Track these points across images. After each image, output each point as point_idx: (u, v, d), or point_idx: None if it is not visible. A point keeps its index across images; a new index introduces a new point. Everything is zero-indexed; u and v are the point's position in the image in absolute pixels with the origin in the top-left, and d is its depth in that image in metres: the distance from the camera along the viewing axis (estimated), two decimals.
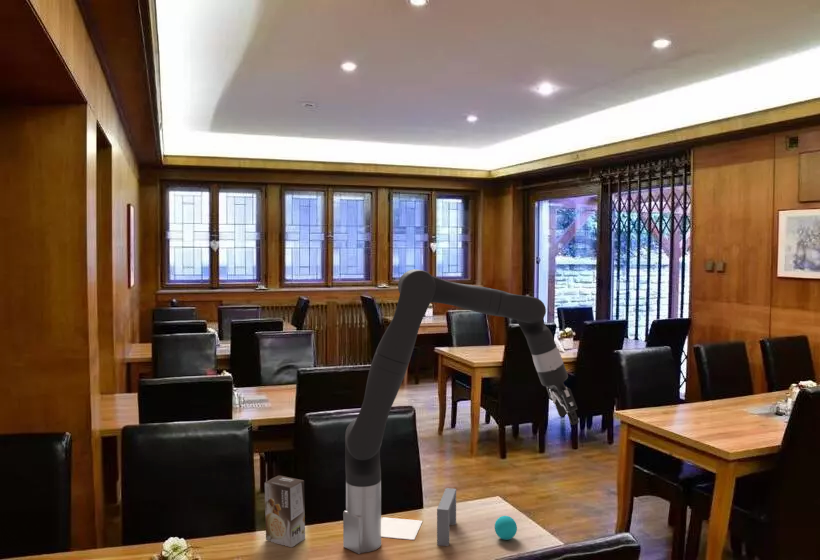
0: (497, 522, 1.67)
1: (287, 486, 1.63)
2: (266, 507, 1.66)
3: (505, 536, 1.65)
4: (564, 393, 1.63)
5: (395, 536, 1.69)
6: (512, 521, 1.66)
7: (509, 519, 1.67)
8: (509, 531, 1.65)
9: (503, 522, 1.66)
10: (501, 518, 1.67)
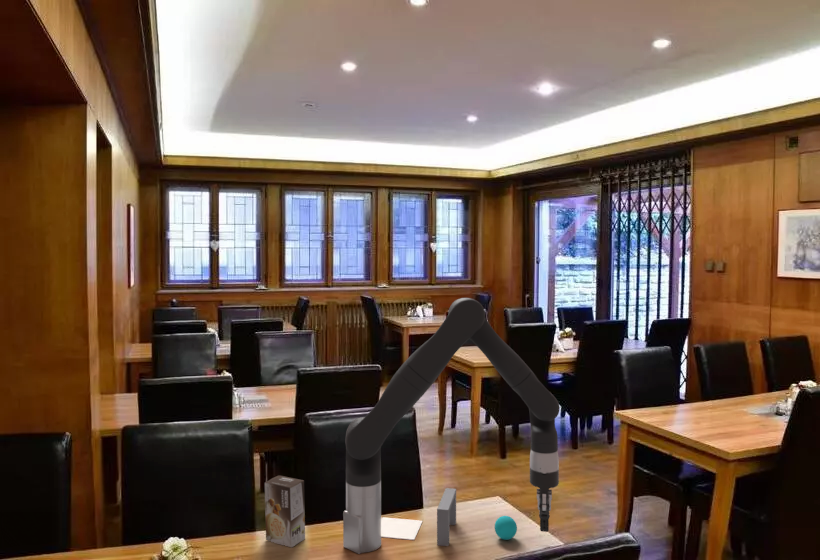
0: (497, 522, 1.67)
1: (287, 486, 1.63)
2: (266, 507, 1.66)
3: (505, 536, 1.65)
4: (541, 508, 1.59)
5: (395, 536, 1.69)
6: (512, 521, 1.66)
7: (509, 519, 1.67)
8: (509, 531, 1.65)
9: (503, 522, 1.66)
10: (501, 518, 1.67)
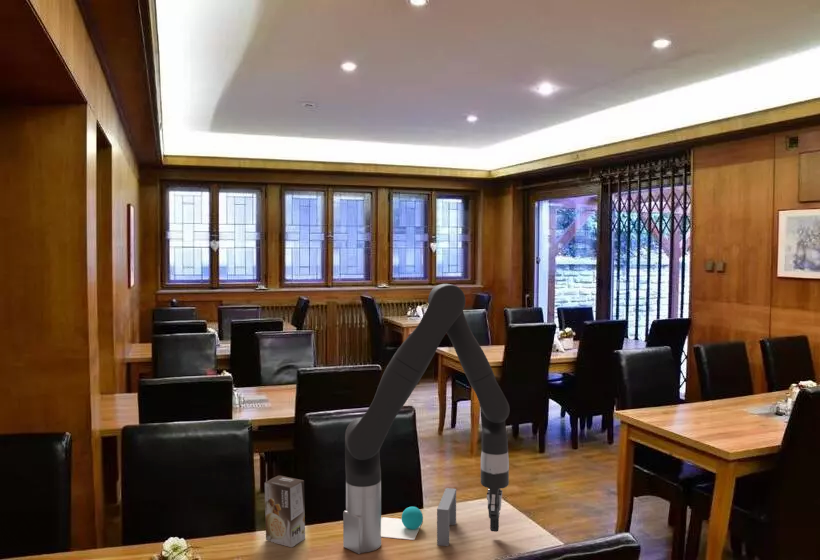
0: (409, 528, 1.73)
1: (287, 486, 1.63)
2: (266, 507, 1.66)
3: (412, 519, 1.71)
4: (490, 508, 1.62)
5: (395, 536, 1.69)
6: None
7: None
8: (407, 517, 1.72)
9: (404, 525, 1.73)
10: None
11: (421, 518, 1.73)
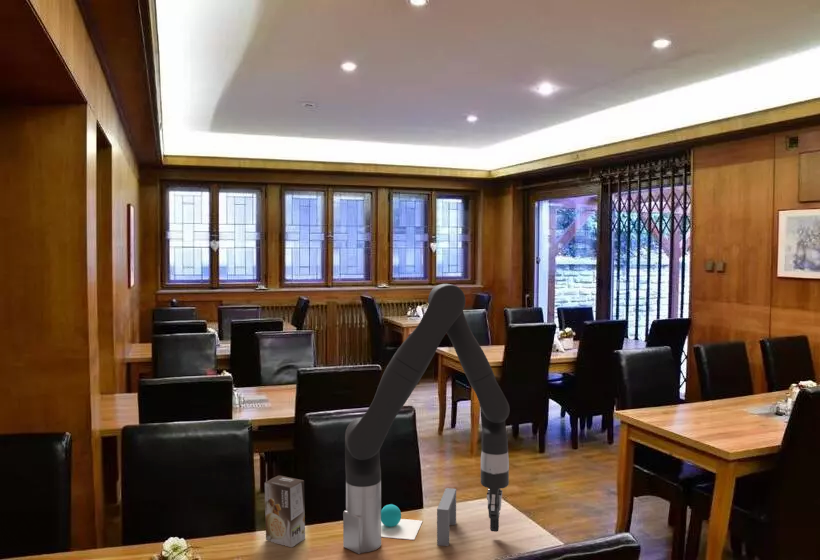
0: (397, 515, 1.74)
1: (287, 486, 1.63)
2: (266, 507, 1.66)
3: (384, 518, 1.73)
4: (490, 508, 1.62)
5: (395, 536, 1.69)
6: (392, 526, 1.75)
7: (395, 525, 1.75)
8: (386, 523, 1.73)
9: (395, 521, 1.73)
10: (399, 519, 1.74)
11: (383, 508, 1.75)
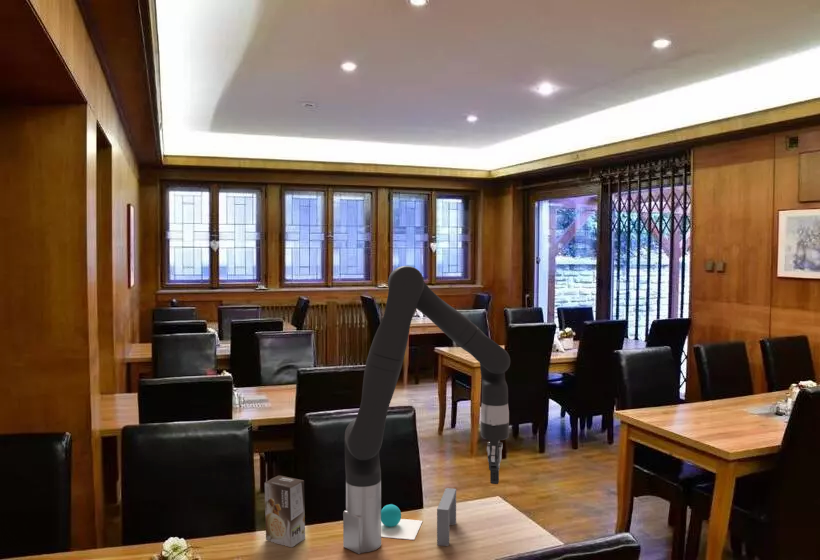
0: (397, 515, 1.74)
1: (287, 486, 1.63)
2: (266, 507, 1.66)
3: (384, 518, 1.73)
4: (490, 459, 1.62)
5: (395, 536, 1.69)
6: (392, 526, 1.75)
7: (395, 525, 1.75)
8: (386, 523, 1.73)
9: (395, 521, 1.73)
10: (399, 519, 1.74)
11: (383, 508, 1.75)
